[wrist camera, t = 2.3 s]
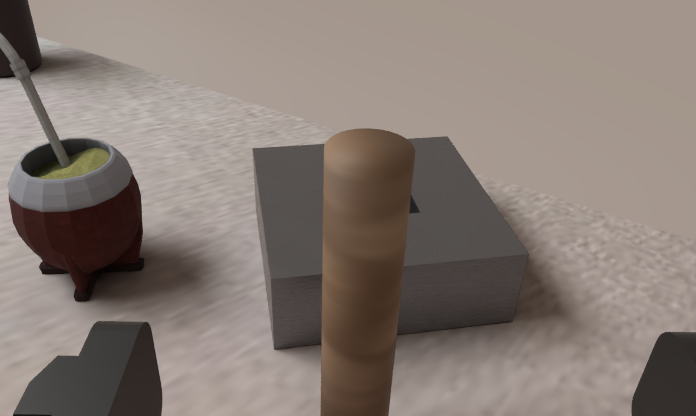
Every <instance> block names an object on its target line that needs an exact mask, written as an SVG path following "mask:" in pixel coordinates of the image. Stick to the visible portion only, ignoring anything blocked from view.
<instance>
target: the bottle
mask: <svg viewBox="0 0 696 416" xmlns="http://www.w3.org/2000/svg"><path fill="white" fill-rule="evenodd" d="M0 33H1V34H2V35H3V36H4V37H5V38H6V39H7V41H8V42H9V43H10V45H11V46H12V47H13V48H14V50H15V51H16V52H17V54H18V56H19V57H20V59H24V61H25V63H26V65H27V66H26V67H28V69H29V71H31V70H33V69H35V68H36V67H38V66H39V65H40V63H41V61H42V57H41V53H40V49H39V45H38V41H37V37H36V33H35V29H34V25H33V21H32V16H31V13H30V9H29V5H28V0H0ZM10 64H11V62H10V61H9V59H8V57H7V56H6V55H5V53H4V52H3V51H2V49H1V48H0V77H6V76H13V75H15V74H14V71H12V69H11V67H10Z"/></svg>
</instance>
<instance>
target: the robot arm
mask: <svg viewBox="0 0 696 416" xmlns="http://www.w3.org/2000/svg"><path fill="white" fill-rule="evenodd" d="M161 412H162V387H161V381H160V376H159V370H158V365H157V359H156V353H155V348H154V342H153V336H152V331H151V327H150V325H149V323H147V322H115V321H98V322H96V323H95V324H94V325H93V327H92V328H91V330H90V332H89V335H88V337H87V339H86V341H85V343H84V346H83V348H82V350H81V352H80V354H79V356H57V357H56V358H55V359H54V360H53V361H52V362H51V363H50V364H48V365H47V366H46V367H45V368H44V369H43V370H42V371H41V372H40V373H39V374H38V375H37V376H36V377H35V378H34V379H33V380H32V381H31V382H30V383H29V384H28V386H27V388H26V390H25V392H24V394H23V396H22V398H21V400H20V402H19V404H18V406H17V407H16V409H15V411H14V413H13V416H161ZM632 416H696V332H665V333H663V334H661V335H660V336H659V337H658V339H657V341H656V343H655V346H654V348H653V350H652V353H651V355H650V358H649V360H648V362H647V365H646V367H645V369H644V372H643V374H642V377H641V379H640V381H639V384H638V386H637V389H636V391H635V393H634V396H633V400H632Z"/></svg>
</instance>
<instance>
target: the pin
mask: <svg viewBox="0 0 696 416" xmlns="http://www.w3.org/2000/svg"><path fill="white" fill-rule="evenodd" d="M414 161H415V148H414V146H413V145H412V143H411V142H410V141H408V140H407V139H406V138H404V137H402V136H400V135H398V134H395V133H392V132H389V131H385V130H379V129H353V130H348V131H343V132H340V133H338V134H336V135H334V136H332V137H331V138H329V139H328V140H327V141H326V143H325V145H324V185H323V267H322V349H321V416H388V413H389V404H390V394H391V384H392V375H393V365H394V355H395V345H396V336H397V326H398V316H399V307H400V297H401V287H402V277H403V268H404V258H405V248H406V239H407V229H408V219H409V210H410V200H411V190H412V180H413V171H414Z"/></svg>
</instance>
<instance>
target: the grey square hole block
mask: <svg viewBox="0 0 696 416" xmlns="http://www.w3.org/2000/svg"><path fill="white" fill-rule="evenodd" d="M407 140H408V141H410V142H411V143H412V145H413V146H414V148H415V161H414V171H413V180H412V190H411V200H410V210H409V219H408V229H407V239H406V248H405V258H404V268H403V277H402V287H401V297H400V307H399V316H398V326H397V335H400V334H408V333H417V332H426V331H434V330H443V329H451V328H460V327H468V326H477V325H485V324H494V323H502V322H511V321H513V317H514V313H515V309H516V305H517V301H518V296H519V292H520V288H521V284H522V280H523V276H524V271H525V267H526V263H527V259H528V255H529V254H528V252H527V251H526V249H525V248H524V247H523V245H522V244H521V242H520V241H519V239H518V238H517V236H516V235H515V234H514V232H513V231H512V229H511V228H510V226H509V225H508V223H507V222H506V221H505V219H504V218H503V216H502V215H501V213H500V212H499V210H498V209H497V208H496V206H495V205H494V203H493V202H492V200H491V199H490V197H489V196H488V195H487V193H486V192H485V190H484V189H483V187H482V186H481V184H480V183H479V182H478V180H477V179H476V177H475V176H474V174H473V173H472V171H471V170H470V169H469V167H468V166H467V165H466V163H465V162H464V160H463V158H462V157H461V156H460V154H459V153H458V151H457V150H456V148H455V147H454V145H453V144H452V143H451V141H450V140H449V138H448V137H431V138H415V139H407ZM324 145H325V144H317V145H301V146H285V147H269V148H253V163H254V181H255V198H256V212H257V220H258V227H259V235H260V243H261V251H262V259H263V266H264V274H265V282H266V290H267V298H268V305H269V313H270V321H271V329H272V337H273V345H274V349H280V348H289V347H297V346H306V345H315V344H322V267H323V185H324Z"/></svg>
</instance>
